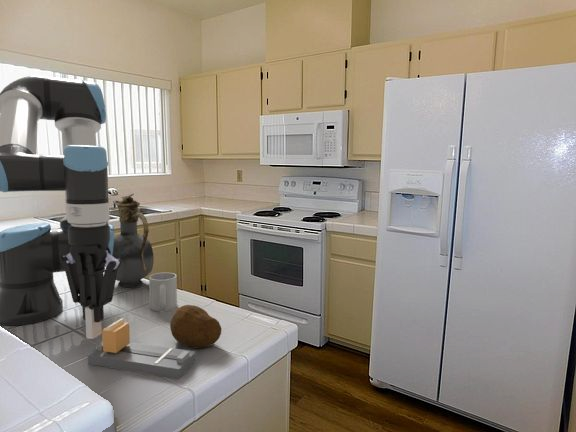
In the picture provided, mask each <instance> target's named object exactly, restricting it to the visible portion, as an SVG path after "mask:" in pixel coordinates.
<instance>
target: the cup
mask: <svg viewBox="0 0 576 432" xmlns="http://www.w3.org/2000/svg"><path fill="white" fill-rule="evenodd" d="M148 279H149V280H148V283H149V288H148V289H149V308H150V310H152V311H154V312H159V311H163V312H167V311H172V310H174V309H175V308H176V307H177V305H178V293H177V291H178V285H177V284H178V282H177V281H178V278H177V274H176V273H174V272H157V273H153V274H150V275H149V277H148ZM171 309H172V310H171Z"/></svg>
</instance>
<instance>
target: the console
mask: <svg viewBox="0 0 576 432" xmlns="http://www.w3.org/2000/svg"><path fill="white" fill-rule="evenodd" d="M95 348H96V349H94V350H92V351H91V352H89V353H88V354H87V362H88V363H87V364H88V365H92V366H98V367H102V368H111V369H117V370H122V371H129V372H135V373H140V374H147V375H153V376H159V377H164V378H165V377H166V378H170V379H176V380H177V379H178V380H179V379H180V378H182V376H183V375H184V374H186V372H187V371H188V370H189V369H190V368H191V367H192V365H193V364H194V363H195V362H196V360H197V352H196V351H195V350H188V349H180V348H173V347H167V346H160V345H152V344H146V343H141V342H140V343H139V342H133V341H130V343H129V344H128V345H126V346H125V347H124V348H122V349H121V350H120V351H118V352H117V353H113V352H106V351H103V341H101V342H100V343H98V344H97V345H96V347H95Z"/></svg>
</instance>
